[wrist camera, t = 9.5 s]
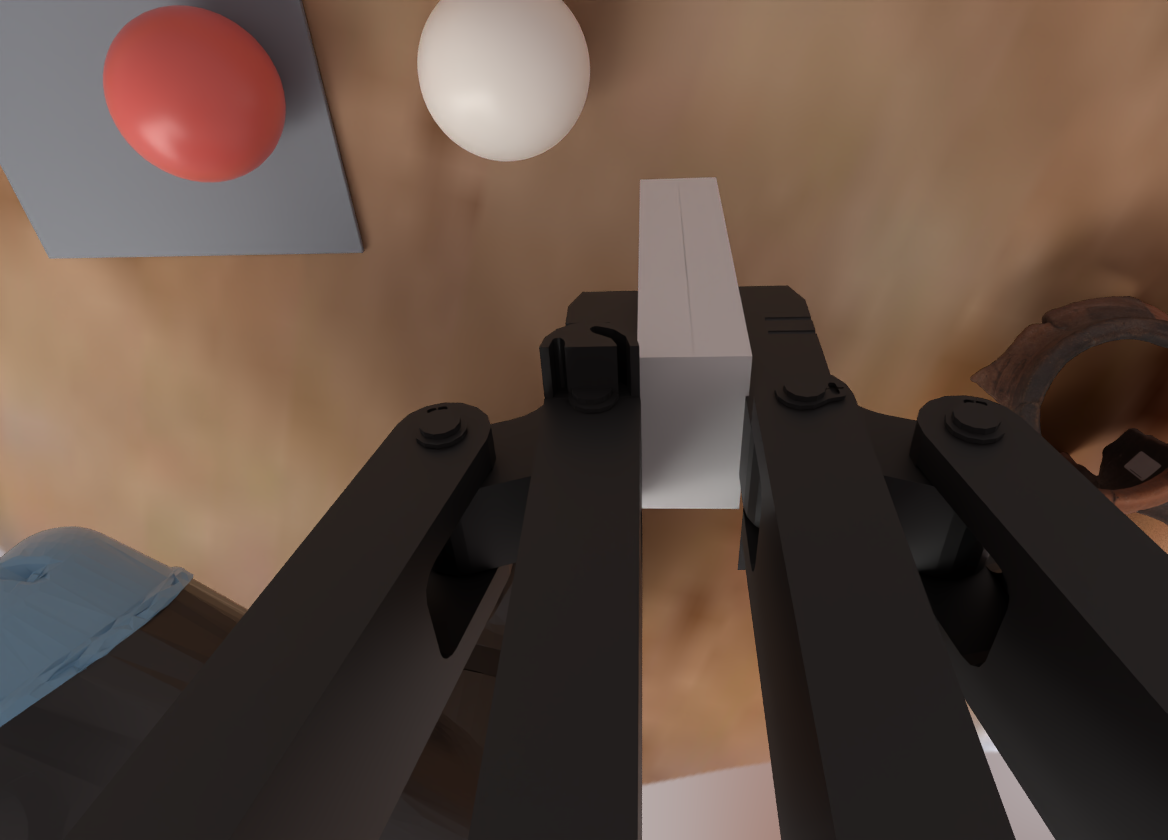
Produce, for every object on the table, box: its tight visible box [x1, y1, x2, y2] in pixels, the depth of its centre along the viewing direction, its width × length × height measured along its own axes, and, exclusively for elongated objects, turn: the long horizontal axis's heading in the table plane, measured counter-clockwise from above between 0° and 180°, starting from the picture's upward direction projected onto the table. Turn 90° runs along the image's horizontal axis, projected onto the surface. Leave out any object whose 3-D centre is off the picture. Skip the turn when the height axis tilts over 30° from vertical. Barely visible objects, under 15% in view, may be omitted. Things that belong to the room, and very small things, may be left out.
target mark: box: [0, 0, 364, 258], centre depth 29 cm, size 14×14×1 cm
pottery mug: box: [970, 296, 1168, 525], centre depth 32 cm, size 12×10×8 cm
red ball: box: [103, 5, 286, 182], centre depth 26 cm, size 6×6×6 cm
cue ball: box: [417, 0, 590, 161], centre depth 25 cm, size 6×6×6 cm
